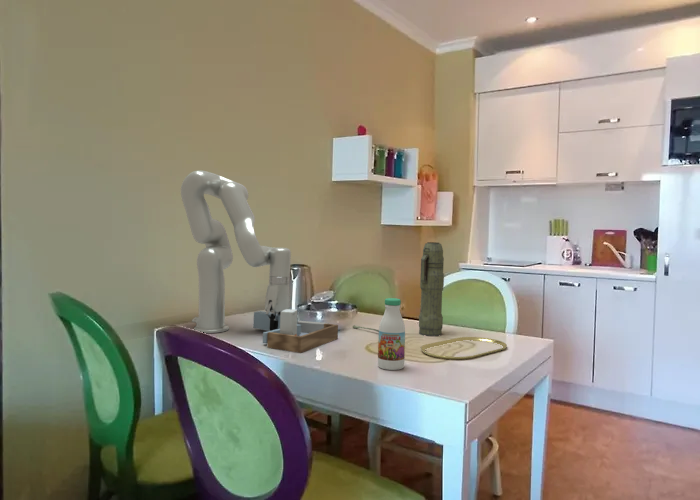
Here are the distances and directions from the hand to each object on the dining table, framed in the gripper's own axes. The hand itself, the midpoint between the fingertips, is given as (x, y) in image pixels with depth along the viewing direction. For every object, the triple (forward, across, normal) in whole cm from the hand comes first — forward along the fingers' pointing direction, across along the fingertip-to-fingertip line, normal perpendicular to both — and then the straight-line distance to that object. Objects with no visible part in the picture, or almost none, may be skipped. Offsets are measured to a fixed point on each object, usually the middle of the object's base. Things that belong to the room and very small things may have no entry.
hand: (277, 329), depth 194 cm
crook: (+1, +8, -1) cm, 8 cm away
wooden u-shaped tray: (+1, +8, +16) cm, 18 cm away
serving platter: (0, -14, +67) cm, 68 cm away
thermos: (0, -31, +49) cm, 58 cm away
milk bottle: (0, +20, +54) cm, 58 cm away
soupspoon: (+1, -21, +30) cm, 37 cm away
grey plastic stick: (+1, -9, +10) cm, 13 cm away
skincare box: (+1, +14, +15) cm, 20 cm away
